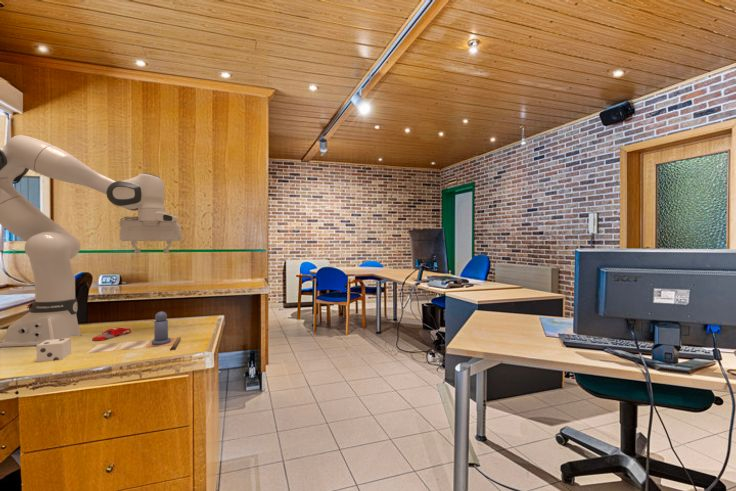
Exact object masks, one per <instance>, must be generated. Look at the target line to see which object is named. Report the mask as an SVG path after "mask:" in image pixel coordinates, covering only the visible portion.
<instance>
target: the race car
mask: <svg viewBox="0 0 736 491" xmlns="http://www.w3.org/2000/svg"><path fill="white" fill-rule="evenodd" d="M131 333H132V330H131V328H129V327H112V328H108V329H106V330H104V331H103V332H101V333H100V334H98V335H95V336H93V337H92V338H91V341H92V342H104V341H107V340H110V339H114V338H118V337H122V336H125V335H128V334H131Z"/></svg>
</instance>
